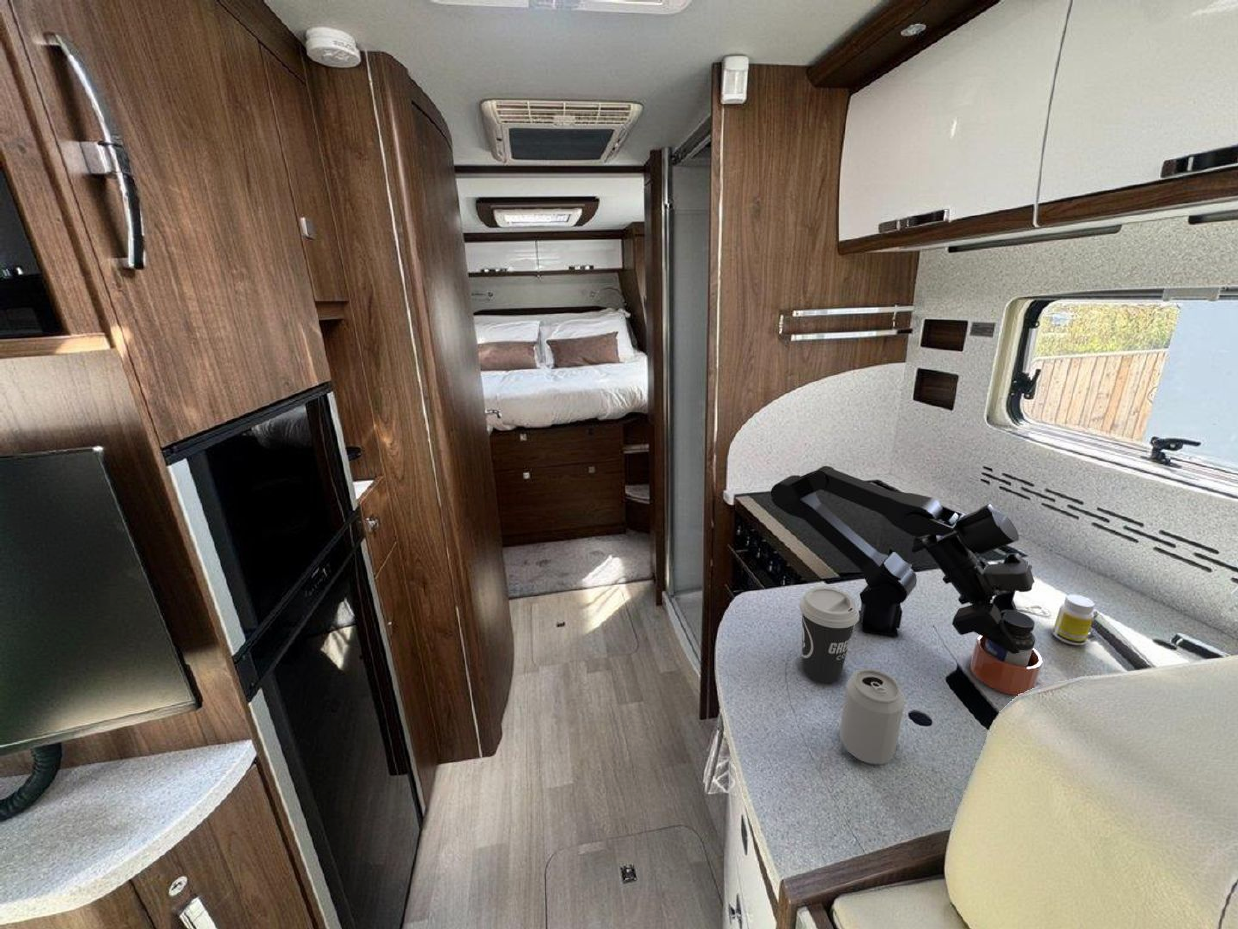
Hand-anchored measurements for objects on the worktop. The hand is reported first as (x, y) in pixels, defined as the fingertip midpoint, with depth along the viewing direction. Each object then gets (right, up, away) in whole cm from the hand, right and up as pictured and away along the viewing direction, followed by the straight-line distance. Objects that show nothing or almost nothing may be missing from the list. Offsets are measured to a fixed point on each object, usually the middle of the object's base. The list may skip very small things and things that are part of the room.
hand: (1020, 643), depth 84 cm
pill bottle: (-1, -6, +3) cm, 7 cm away
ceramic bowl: (-1, -7, +3) cm, 8 cm away
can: (-30, -13, -9) cm, 34 cm away
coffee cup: (-31, -7, +6) cm, 32 cm away
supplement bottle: (+19, -3, +12) cm, 22 cm away
